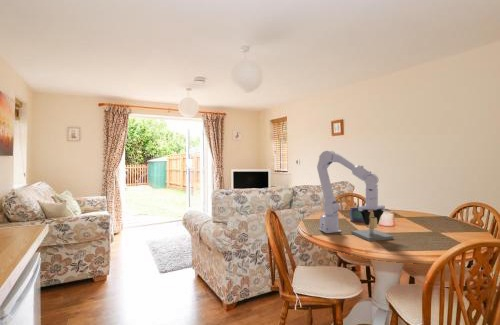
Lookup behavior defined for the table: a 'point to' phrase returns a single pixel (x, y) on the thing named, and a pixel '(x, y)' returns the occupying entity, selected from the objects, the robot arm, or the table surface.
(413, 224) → the table surface
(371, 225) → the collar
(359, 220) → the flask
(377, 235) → the post block
